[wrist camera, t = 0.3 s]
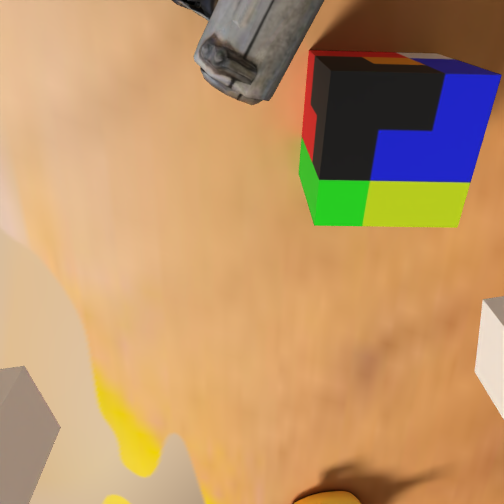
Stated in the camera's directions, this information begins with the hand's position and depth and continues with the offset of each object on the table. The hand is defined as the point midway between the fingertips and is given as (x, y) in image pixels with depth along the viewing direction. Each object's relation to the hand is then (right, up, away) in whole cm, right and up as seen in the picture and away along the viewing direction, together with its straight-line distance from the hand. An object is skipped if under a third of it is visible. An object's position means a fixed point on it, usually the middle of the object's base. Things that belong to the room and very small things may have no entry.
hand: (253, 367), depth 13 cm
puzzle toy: (+9, +15, +24) cm, 30 cm away
